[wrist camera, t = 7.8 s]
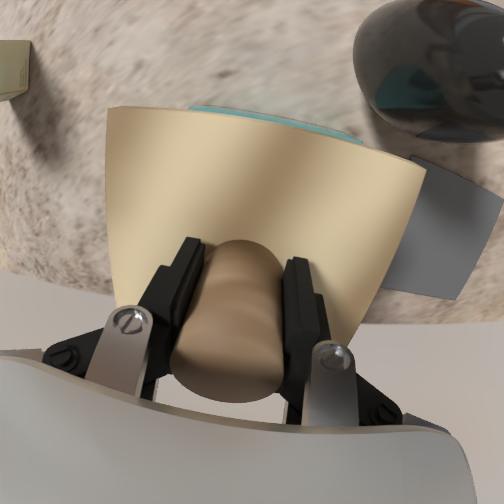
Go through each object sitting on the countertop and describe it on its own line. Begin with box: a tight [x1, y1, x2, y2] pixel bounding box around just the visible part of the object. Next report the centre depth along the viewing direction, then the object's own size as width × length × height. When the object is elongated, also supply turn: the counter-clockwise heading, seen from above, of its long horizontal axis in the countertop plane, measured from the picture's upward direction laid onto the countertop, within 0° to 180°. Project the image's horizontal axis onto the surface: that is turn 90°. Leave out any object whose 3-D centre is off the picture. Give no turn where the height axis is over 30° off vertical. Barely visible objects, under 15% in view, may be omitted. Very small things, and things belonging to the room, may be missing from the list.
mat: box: [380, 155, 504, 300], centre depth 23 cm, size 13×13×1 cm
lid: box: [105, 106, 427, 403], centre depth 10 cm, size 12×12×6 cm
